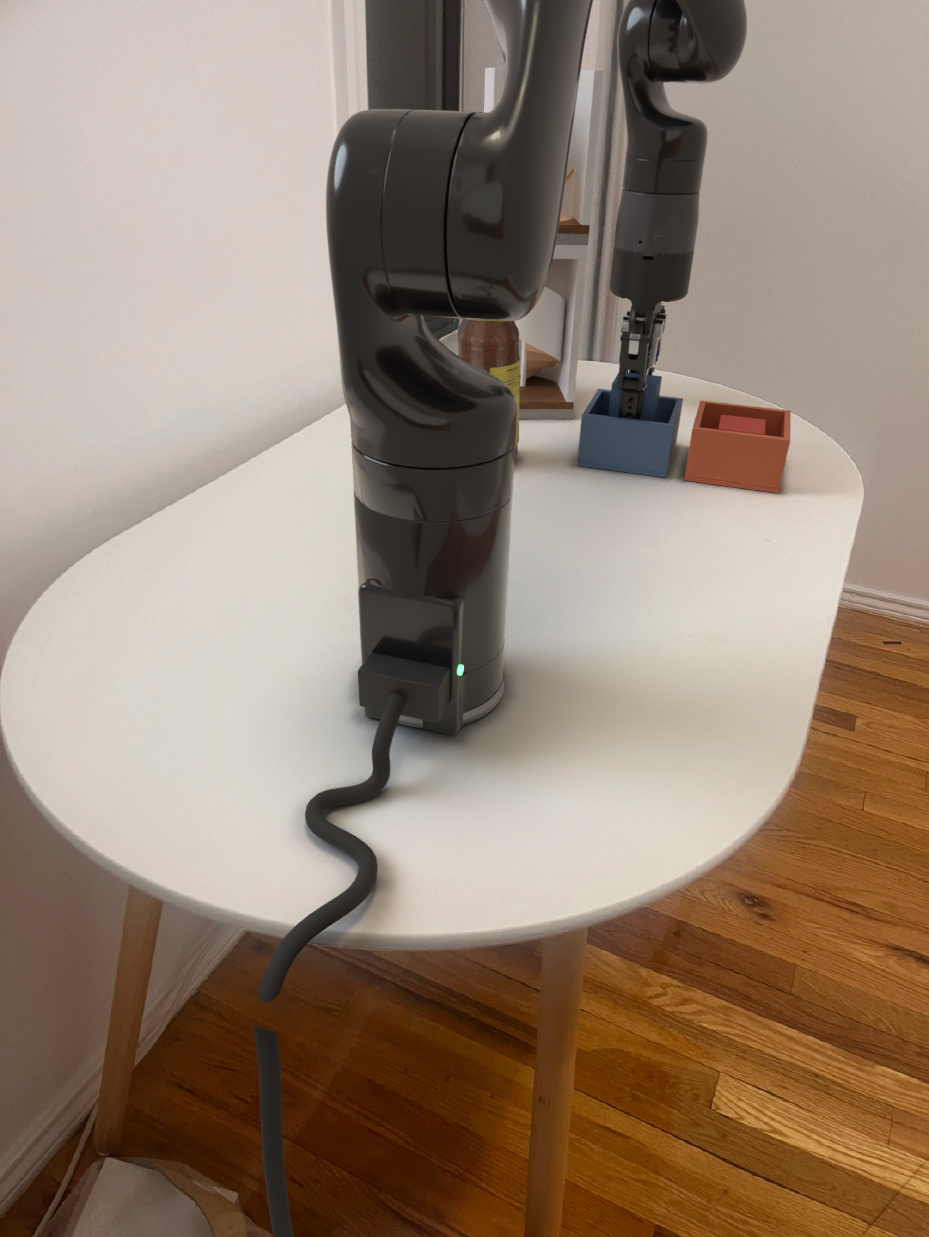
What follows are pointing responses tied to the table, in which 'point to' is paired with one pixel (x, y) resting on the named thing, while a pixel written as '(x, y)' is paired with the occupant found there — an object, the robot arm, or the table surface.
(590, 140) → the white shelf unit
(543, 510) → the table surface
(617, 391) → the blue block
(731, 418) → the red block
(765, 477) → the red bin
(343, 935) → the table surface
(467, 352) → the sauce bottle
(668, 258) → the robot arm
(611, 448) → the blue bin
